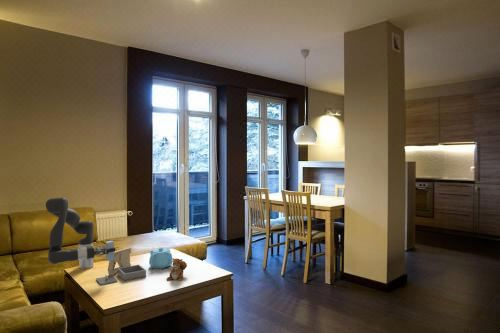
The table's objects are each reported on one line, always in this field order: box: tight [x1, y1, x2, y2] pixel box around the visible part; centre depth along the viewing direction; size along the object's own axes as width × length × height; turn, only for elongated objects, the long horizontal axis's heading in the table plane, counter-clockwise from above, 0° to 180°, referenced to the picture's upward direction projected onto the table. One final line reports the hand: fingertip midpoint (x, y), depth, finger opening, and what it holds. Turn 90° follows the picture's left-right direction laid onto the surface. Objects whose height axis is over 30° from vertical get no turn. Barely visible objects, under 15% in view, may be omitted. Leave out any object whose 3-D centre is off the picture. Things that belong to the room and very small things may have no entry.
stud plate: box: [96, 274, 118, 286], centre depth 223 cm, size 12×10×4 cm
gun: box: [107, 247, 132, 276], centre depth 245 cm, size 24×3×15 cm, turn 168°
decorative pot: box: [148, 247, 173, 270], centre depth 252 cm, size 16×16×14 cm
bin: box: [117, 264, 147, 282], centre depth 232 cm, size 15×14×4 cm
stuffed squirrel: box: [166, 257, 188, 282], centre depth 227 cm, size 10×14×13 cm
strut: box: [105, 240, 115, 262], centre depth 224 cm, size 4×4×12 cm
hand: (114, 248), depth 226 cm, fingers closed on strut, 4 cm apart
